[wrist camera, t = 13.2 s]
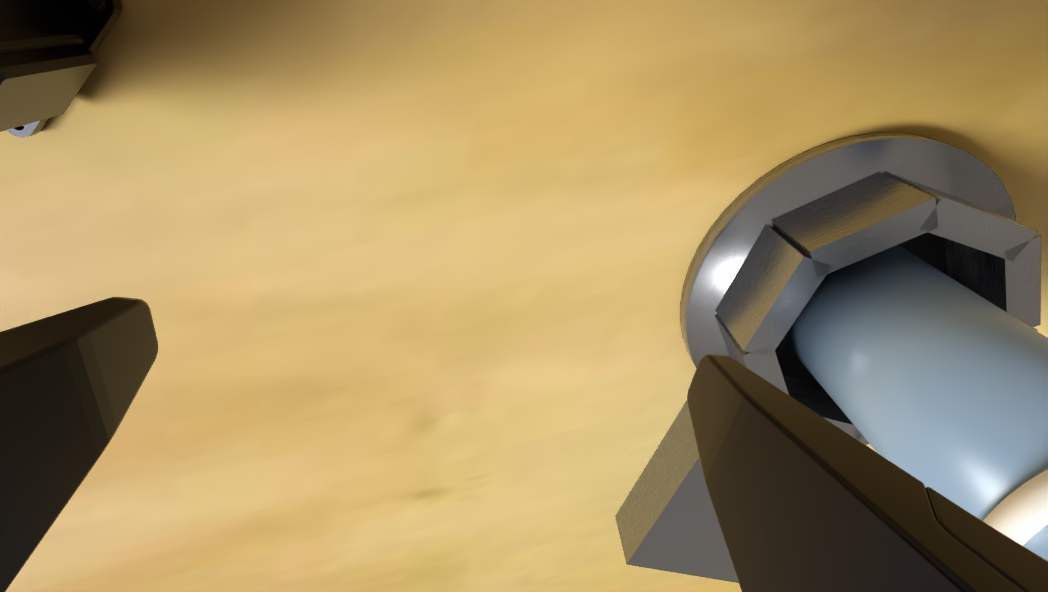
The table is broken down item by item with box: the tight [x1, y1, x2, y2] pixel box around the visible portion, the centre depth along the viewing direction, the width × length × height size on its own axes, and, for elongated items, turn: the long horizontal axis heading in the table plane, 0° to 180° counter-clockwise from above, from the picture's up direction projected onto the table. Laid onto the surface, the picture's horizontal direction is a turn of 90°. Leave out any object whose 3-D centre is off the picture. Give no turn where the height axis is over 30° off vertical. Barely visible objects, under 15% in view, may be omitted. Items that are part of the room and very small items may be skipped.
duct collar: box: [616, 133, 1041, 583], centre depth 24 cm, size 24×14×4 cm, turn 162°
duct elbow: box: [783, 245, 1048, 561], centre depth 18 cm, size 10×6×12 cm, turn 82°
